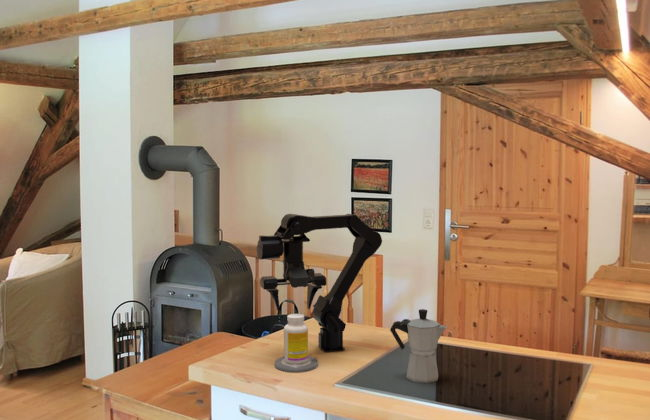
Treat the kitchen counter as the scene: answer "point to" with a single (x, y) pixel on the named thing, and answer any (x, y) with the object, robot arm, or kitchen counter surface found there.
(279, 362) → the gray plate
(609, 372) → the kitchen counter surface
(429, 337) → the coffee maker
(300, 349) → the supplement bottle
